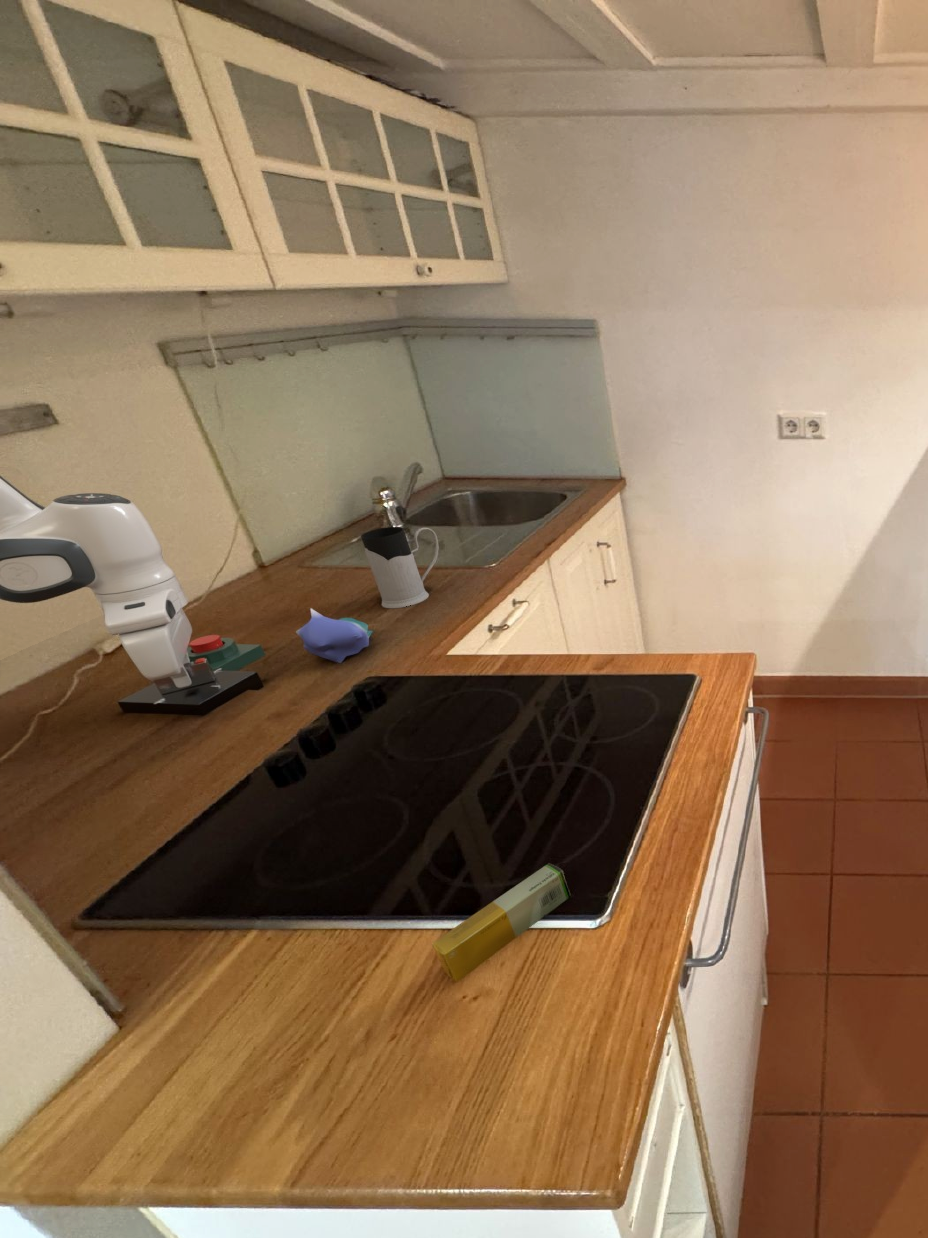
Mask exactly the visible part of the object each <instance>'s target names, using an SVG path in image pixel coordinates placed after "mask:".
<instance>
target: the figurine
mask: <svg viewBox="0 0 928 1238" xmlns="http://www.w3.org/2000/svg"><path fill="white" fill-rule="evenodd" d="M310 615H311V617H310V619H309V621H308V622H307V623H306V624H305V625H303V626H302V627H300V628H298V629H297V630H295V633H296V634H297V636H299V637H300V638H301V639H302V642H303V646H302V647H303V648H304V650H305V651H306V652H308V653H309V654H311V655H313V656H318V657H320V658H323V659H326V660H329V661H332V662H335V663H338V664H342V662H343V661H344V660H345V659H346V657H349V656H353V655H356V654H359V653H360V652H361V651H362V650H363V649H364V648H366V647H369V646H370V637H371V636H372V634H373V632H374V630H368V627H369V625H368V624H367V623H366V622H363V621H360V620H357V619H355V618H353V617H340V618H339V619H334V618H331V617H327V616H324V615H322V614H321V613H319V612H317V611H316V610H315V609H313V608H310Z"/></svg>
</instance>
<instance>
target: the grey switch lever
mask: <svg viewBox="0 0 928 1238" xmlns="http://www.w3.org/2000/svg"><path fill="white" fill-rule="evenodd" d="M183 666H184V667H185V669H186V671H187V672H189V674H190V676H191V678H192V683H191V685H189V686H185V687H181V688H179V687H176V685H175V683H174V681H173V680H172V678H170V677H167V678H163V679H159V680H154V681H153V683H155V684H156V686H157V688H158V690H159V691H160V693H161V694H165V693H169V692H173V691H177V690H181V689H185V688H189V687H193V686H197V685H201V684H205V683H209V682H212V681H215V679H216V676H215V674H214V672H213V670H212V668H211V666H210V664H209V662H208V660H207V659H205V658H201V659H196V661H193V662H189V663H185V664H184V665H183Z"/></svg>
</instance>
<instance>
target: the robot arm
mask: <svg viewBox="0 0 928 1238" xmlns="http://www.w3.org/2000/svg"><path fill="white" fill-rule="evenodd" d="M83 588H89V589H90V590H91V591H92V593H93V594H94V596H95V598H96V600H97V602H98V604H99V607H100V609H101V610H102V613H103V619H104V620H103V621H104V626H105V628H106V629H107V631H108V633H109V634H110V636H116V635H118V639H119V642H120V643H121V645H122V647H123V648H124V651H125V652H126V654H127V655H128V656H129V658H130V660H131V661H132V662H133V664H134V665H135V666H136V668H137V670H138V671H139V672H140V674H141V675H142V676H143V677H144V678H146V679H147V680H148V681H149V682H150V681H152V682H154V680H159V679H163V678H167V677H170V678H172V680H173V681H174V683H175V685H176V687H179V688H181V687H185V686H189V685H191V683H192V678H191V676H190V674H189V672H187V671H186V669H185V667H184V666H183V665H184V664H185V663H189V662H190V660H189V656H188V652H187V648H189V643H190V642H191V637H192V634H193V627H192V625H191V622H190V620H189V618H188V616H187V614H186V613H185V611H184V609H183V608H184V607H186V606H187V605H188V604H189V599H188V598H187V596H186V594H185V591H184V590H183V588H182V586H181V584H180V582H179V580H178V578H177V576H176V574H175V572H174V570H173V569H172V568H171V567H170V566H169V564H167V563H166V561H165V560H164V557H163V550H162V546H161V543H160V542H159V540H158V537H157V536H156V534H155V532H154V530H153V529H152V527H151V525H150V523H149V521H148V520H147V518H146V517H145V516H144V514H143V513H142V511H141V510H140V509H139V507H138V506H137V505H135V504H134V503H133V502H132V501H131V500H129V499H128V498H125V497H123V496H120V495H117V494H110V493H101V492H98V493H97V492H87V493H75V494H67V495H62V496H60V497H56V498H54V499H53V500H51V502H50V503H49V504H48V505H47V506H46V507H45V506H43V505H41V504H39V503H38V502H36V501H34V500H33V499H31V498H29V497H28V496H27V495H26V494H25V493H23V492H22V491H21V490H19V489H18V488H16V486H15V485H13V484H12V483H10V482H9V481H8V479H5V478H4V477H3V476H1V475H0V600H1V601H5V602H9V603H18V604H32V603H33V604H35V603H39V602H44V601H48V600H50V599H51V600H52V599H54V598H57V597H60V596H64V595H66V594H70V593H72V592H76V591H78V590H80V589H83Z"/></svg>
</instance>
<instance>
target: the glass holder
mask: <svg viewBox="0 0 928 1238" xmlns="http://www.w3.org/2000/svg"><path fill="white" fill-rule="evenodd" d="M424 530H427V531H430V532H431V533H432V535H433V538H434V542H435V550H434V556H433V559H432V560H431V563H430V564H429V566H428V567H427V569H426V570H425V572H424V573H423V575H422V576H421V574H420V571H419V568H418V565H417V562H416V559H415V556H414V554H413V553H415V552H417V551H418V550H419V543H418V535H419V533H421V531H424ZM360 538H361V541H362V544H363V546H364V547H363V548H364V552H365V555H366V558H367V561H368V564H369V567H370V569H371V572H372V575H373V578H374V581H375V583H376V587H377V589H378V592H379V594H380V597H381V606H382V608H385V609H400V608H401V609H402V608H406V606H407V607H411V606H414V605H417V604H420V603H422V602H424V601H426V600H427V599H428V598H429V596H430V594H429V593H428V591H426V589H425V587H424V580H425V579H426V577H427V575H428V574H429V573H430V572H431V570H432V569H433V567H434V565H435V563H436V562H437V559H438V557H439V549H440V547H439V540H438V539H439V538H438V536H437V534H436V532H435V531H434V530H433V529H431V528H429V527H420V528H418V529H417V530H416V531H415V533H414V535H413V541H414V546H415V548H414V549H412V550H411V548H410V543H409V540H408V538H407V535H406V532H405V529H404V527H402V526H401V527H400V526H388V527H380V528H375V529H372V530H369V531H366V532H364V533H362V534H361V535H360ZM410 605H411V606H410Z"/></svg>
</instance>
